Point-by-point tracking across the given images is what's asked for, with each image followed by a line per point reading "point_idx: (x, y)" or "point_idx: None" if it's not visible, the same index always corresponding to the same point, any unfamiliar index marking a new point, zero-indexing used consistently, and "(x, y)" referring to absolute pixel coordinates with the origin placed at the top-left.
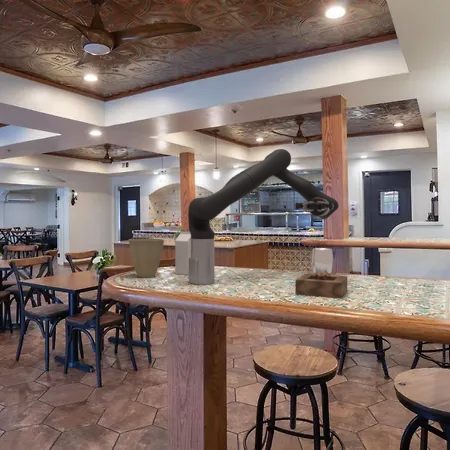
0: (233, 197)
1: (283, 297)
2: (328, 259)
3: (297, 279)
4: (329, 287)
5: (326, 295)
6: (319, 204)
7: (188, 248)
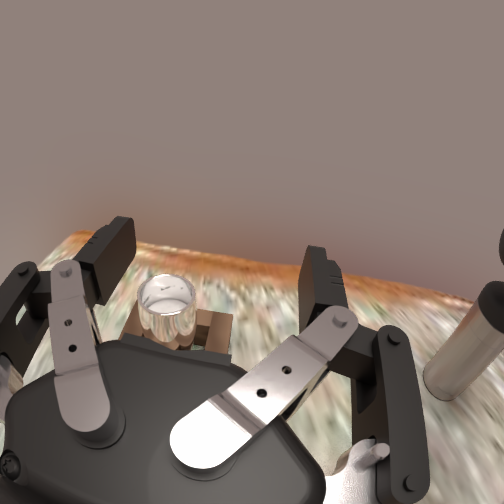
0: None
1: (248, 310)
2: (154, 295)
3: (229, 316)
4: None
5: None
6: (107, 342)
7: None
